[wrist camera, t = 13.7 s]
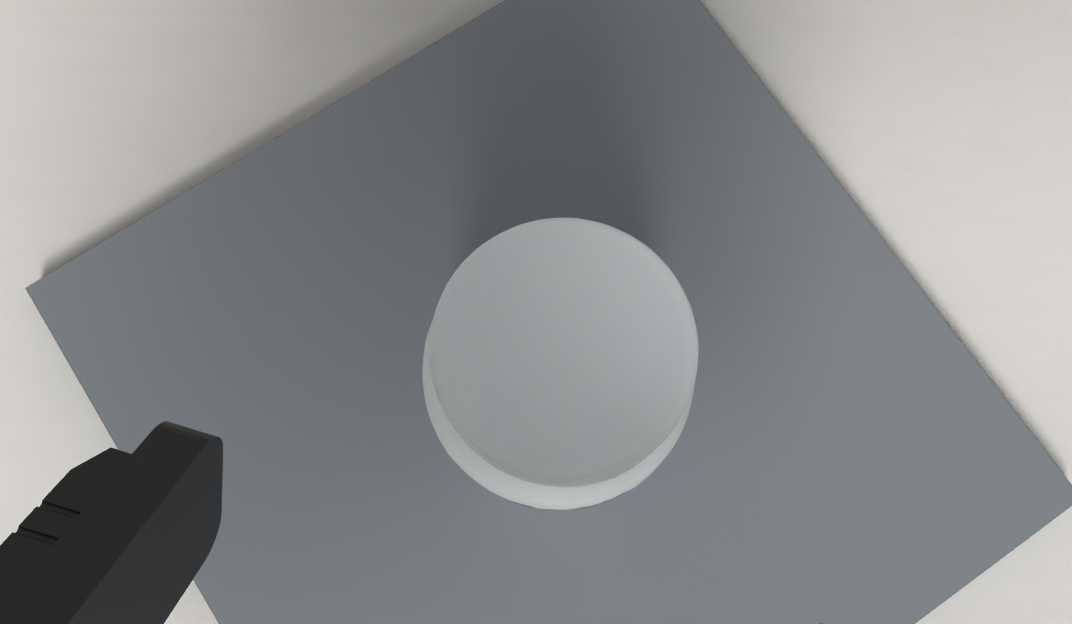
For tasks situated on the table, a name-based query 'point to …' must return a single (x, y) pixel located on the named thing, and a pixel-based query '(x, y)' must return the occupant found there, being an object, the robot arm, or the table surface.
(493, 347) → the pill bottle
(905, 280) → the rubber mat
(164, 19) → the table surface
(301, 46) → the table surface
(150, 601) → the robot arm
